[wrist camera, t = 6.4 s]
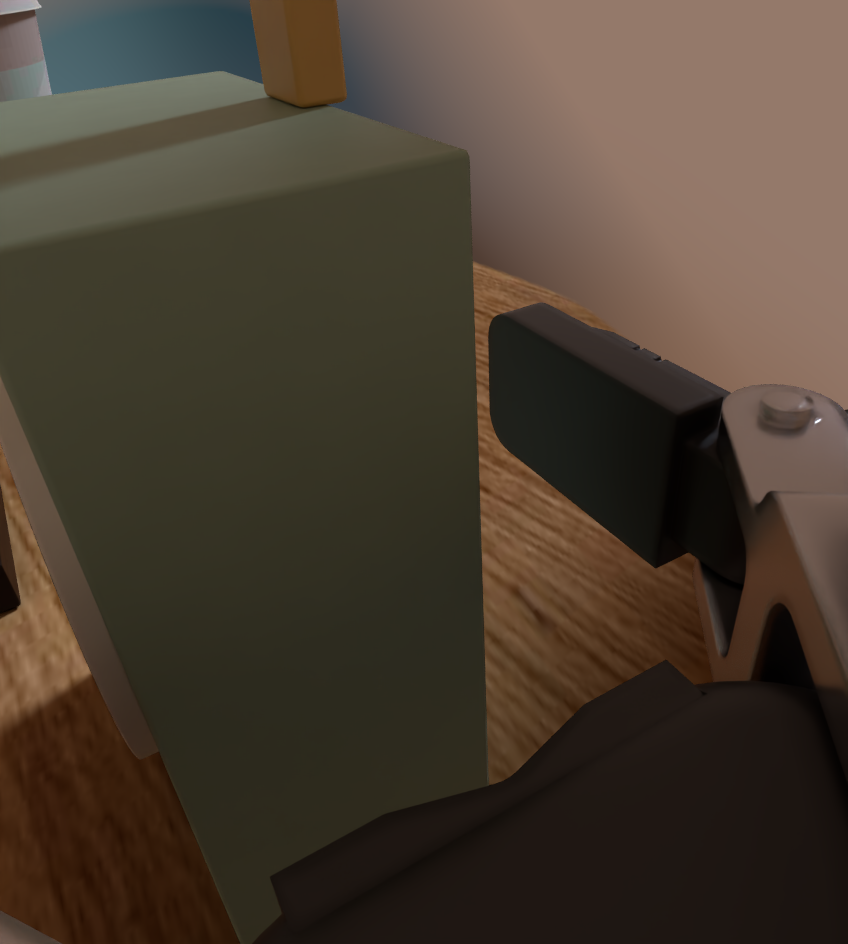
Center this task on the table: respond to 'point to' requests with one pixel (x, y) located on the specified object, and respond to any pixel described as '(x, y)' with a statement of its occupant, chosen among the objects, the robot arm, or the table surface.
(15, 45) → the coffee cup
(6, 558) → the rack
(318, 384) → the green box with handle
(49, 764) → the table surface
